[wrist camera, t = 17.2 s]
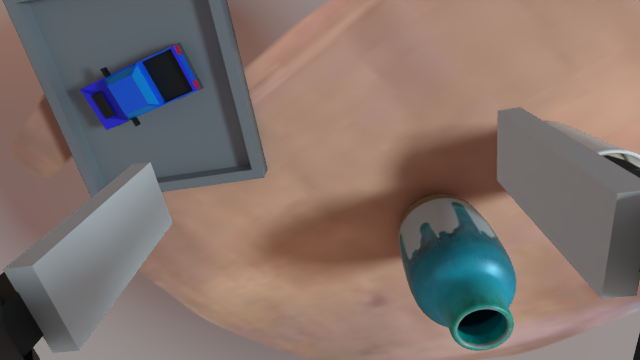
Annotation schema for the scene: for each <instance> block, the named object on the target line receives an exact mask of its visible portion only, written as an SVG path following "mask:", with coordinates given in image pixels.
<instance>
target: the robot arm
mask: <svg viewBox="0 0 640 360" xmlns="http://www.w3.org/2000/svg"><path fill="white" fill-rule="evenodd" d="M497 181H498V182H499V183H500V185H501V186H502V187H503V188H504V189H505V190H506V191H507V192H508V194H509V195H510V196H511V197H512V198H513V199H514V200H515V202H516V203H517V204H518V205H519V206H520V207H521V208H522V209H523V211H524V212H525V213H526V214H527V215H528V216H529V217H530V219H531V220H532V221H533V222H534V223H535V224H536V225H537V226H538V228H539V229H540V230H541V231H542V232H543V233H544V234H545V236H546V237H547V238H548V239H549V240H550V241H551V242H552V243H553V245H554V246H555V247H556V248H557V249H558V250H559V251H560V252H561V254H562V255H563V256H564V257H565V258H566V259H567V260H568V262H569V263H570V264H571V265H572V266H573V267H574V268H575V269H576V271H577V272H578V273H579V274H580V275H581V276H582V277H583V279H584V280H585V281H586V282H587V283H588V284H589V285H590V286H591V288H592V289H593V290H594V291H595V292H596V293H597V294H598V295H599V297H600V298H601V299H604V298H614V297H624V296H634V295H637V290H638V285H639V280H640V168H639V167H638V166H636V165H634V164H632V163H630V162H629V161H626V160H623V159H620V158H616V157H613V156H609V155H603V156H602V155H600V154H598V153H597V152H595V151H593V150H592V149H590V148H588V147H586V146H585V145H583V144H581V143H580V142H578V141H576V140H575V139H573V138H571V137H570V136H568V135H566V134H564V133H563V132H561V131H559V130H558V129H556V128H554V127H553V126H551V125H549V124H547V123H546V122H544V121H542V120H541V119H539V118H537V117H536V116H534V115H532V114H531V113H529V112H527V111H525V110H524V109H522V108H520V107H519V108H512V109H505V110H499V111H498V132H497ZM172 223H173V222H172V220H171V217H170V214H169V211H168V209H167V206H166V203H165V200H164V198H163V195H162V192H161V189H160V187H159V184H158V181H157V179H156V176H155V173H154V170H153V168H152V165H151V162H147V163H140V164H133V165H131V166H130V167H129V168H127V169H126V170H125V171H124V172H122V173H121V174H120V175H119V176H118V177H116V178H115V179H114V180H113V181H111V182H110V183H109V184H108V185H106V186H105V187H104V188H103V189H102V190H100V191H99V192H98V193H97V194H95V195H94V196H93V197H92V198H90V199H89V200H88V201H87V202H86V203H84V204H83V205H82V206H81V207H79V208H78V209H77V210H76V211H75V212H73V213H72V214H71V215H70V216H68V217H67V218H66V219H65V220H63V221H62V222H61V223H60V224H58V225H57V226H56V227H55V228H54V229H52V230H51V231H50V232H49V233H47V234H46V235H45V236H44V237H43V238H41V239H40V240H39V241H38V242H36V243H35V244H34V245H33V246H31V247H30V248H29V249H28V250H26V251H25V252H24V253H23V254H22V255H20V256H19V257H18V258H17V259H16V260H14V261H13V262H12V263H10V264H9V265H8V266H7V267H6V268H4V269H3V270H4V272H3V273H2V274H1V275H0V360H40V358H39V356H38V355H37V353H36V352H35V350H34V349H33V347H34V346H35V344H36V343H37V342H38V341H39V340H40V338H41V337H42V336H43V337H44V339H45V340H46V342H47V344H48V345H49V347H50V349H51V350H52V352H53V353H57V352H67V351H77V350H80V349H81V347H82V346H83V345H84V343H85V342H86V341H87V339H88V338H89V336H90V335H91V334H92V332H93V331H94V330H95V328H96V327H97V325H98V324H99V323H100V321H101V320H102V319H103V317H104V316H105V315H106V313H107V312H108V310H109V309H110V308H111V306H112V305H113V303H114V302H115V301H116V299H117V298H118V297H119V295H120V294H121V293H122V291H123V290H124V289H125V287H126V286H127V284H128V283H129V282H130V280H131V279H132V278H133V276H134V275H135V273H136V272H137V271H138V269H139V268H140V267H141V265H142V264H143V263H144V261H145V260H146V258H147V257H148V256H149V254H150V253H151V252H152V250H153V249H154V247H155V246H156V245H157V243H158V242H159V241H160V239H161V238H162V237H163V235H164V234H165V232H166V231H167V230H168V228H169V227H170V226H171V224H172ZM633 360H640V334H639V338H638V342H637V346H636V350H635V354H634V358H633Z"/></svg>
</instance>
